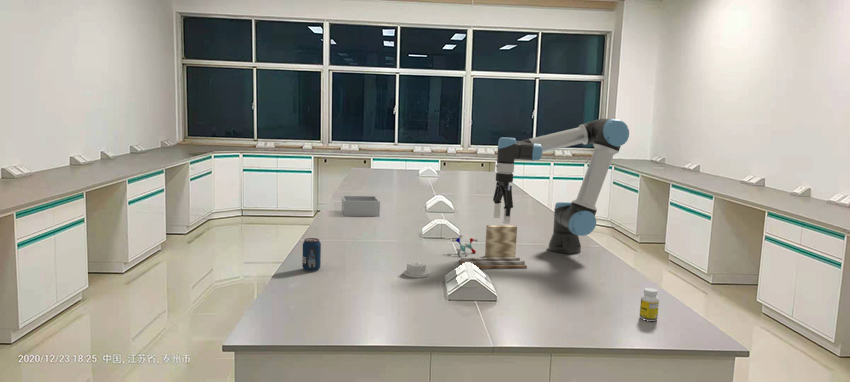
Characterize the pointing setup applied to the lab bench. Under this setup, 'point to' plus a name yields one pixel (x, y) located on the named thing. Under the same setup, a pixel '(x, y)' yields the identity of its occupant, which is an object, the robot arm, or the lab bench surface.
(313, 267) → the soda can
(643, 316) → the supplement bottle
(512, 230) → the door panel
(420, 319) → the lab bench surface
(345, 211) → the storage crate
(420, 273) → the mechanical component
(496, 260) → the track board
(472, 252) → the molecular model
